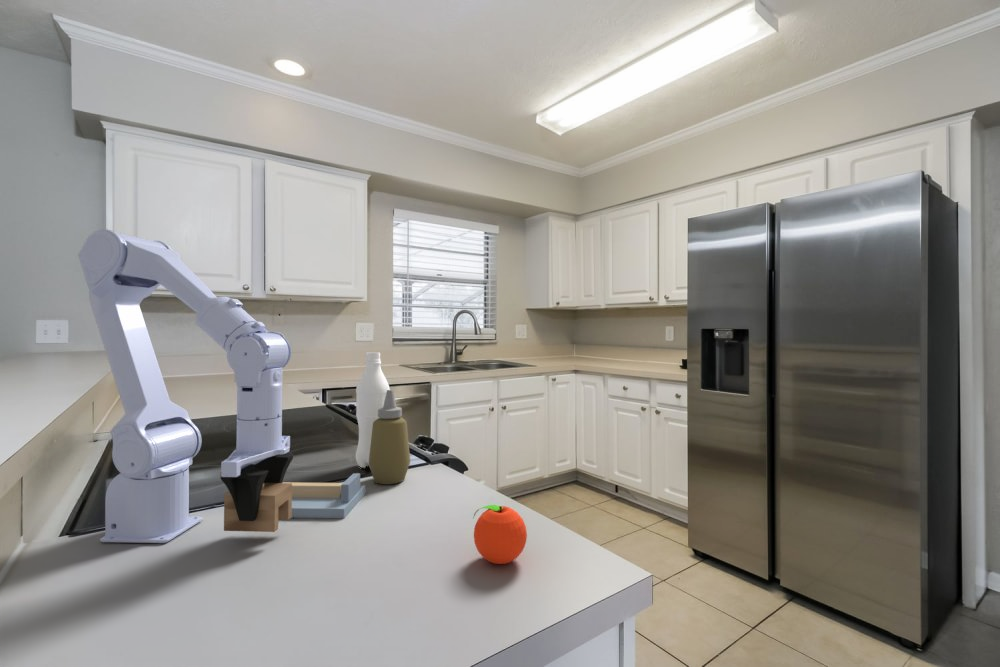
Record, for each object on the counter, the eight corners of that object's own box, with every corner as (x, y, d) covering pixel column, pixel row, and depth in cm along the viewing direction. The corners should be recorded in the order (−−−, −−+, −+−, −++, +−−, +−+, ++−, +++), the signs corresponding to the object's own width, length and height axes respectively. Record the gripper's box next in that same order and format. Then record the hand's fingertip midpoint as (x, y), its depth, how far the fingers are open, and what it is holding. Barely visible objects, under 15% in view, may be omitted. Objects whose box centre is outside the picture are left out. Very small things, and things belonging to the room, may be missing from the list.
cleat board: (256, 517, 73) (256, 489, 73) (289, 492, 84) (289, 468, 84) (344, 518, 73) (344, 489, 73) (365, 493, 84) (365, 469, 84)
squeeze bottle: (418, 478, 93) (419, 389, 92) (389, 490, 86) (389, 394, 86) (390, 471, 97) (390, 386, 97) (359, 482, 90) (360, 390, 90)
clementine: (456, 561, 59) (456, 507, 59) (487, 541, 65) (487, 491, 65) (507, 581, 55) (508, 521, 55) (536, 557, 61) (536, 503, 61)
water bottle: (349, 470, 97) (349, 353, 97) (364, 461, 105) (365, 351, 104) (381, 472, 96) (381, 353, 96) (394, 463, 103) (395, 352, 103)
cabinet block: (223, 530, 63) (224, 489, 63) (244, 515, 68) (244, 477, 68) (274, 531, 63) (275, 490, 63) (291, 517, 68) (291, 478, 68)
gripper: (260, 428, 58) (259, 535, 58) (309, 408, 73) (308, 494, 73) (205, 427, 58) (204, 533, 58) (265, 407, 73) (264, 493, 73)
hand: (258, 511), depth 65 cm, fingers closed on cabinet block, 5 cm apart
